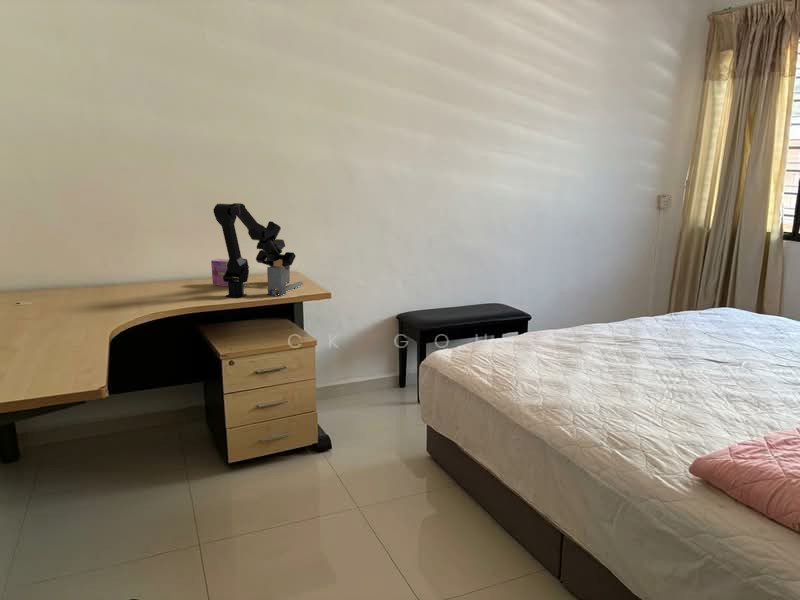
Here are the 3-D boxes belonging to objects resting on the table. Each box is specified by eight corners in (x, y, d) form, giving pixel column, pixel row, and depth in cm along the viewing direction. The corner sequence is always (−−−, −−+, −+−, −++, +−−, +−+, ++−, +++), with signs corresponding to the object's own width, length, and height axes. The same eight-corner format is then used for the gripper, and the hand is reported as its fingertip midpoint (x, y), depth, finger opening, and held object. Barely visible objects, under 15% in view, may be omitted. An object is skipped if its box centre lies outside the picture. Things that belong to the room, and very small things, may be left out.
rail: (276, 296, 255) (275, 291, 254) (271, 295, 256) (271, 291, 255) (303, 286, 277) (303, 281, 277) (299, 285, 278) (299, 281, 277)
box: (212, 285, 274) (210, 260, 272) (219, 283, 280) (218, 258, 277) (232, 287, 271) (231, 261, 269) (239, 285, 277) (237, 259, 274)
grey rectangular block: (285, 283, 281) (284, 258, 278) (273, 282, 283) (272, 257, 280) (289, 282, 285) (289, 257, 282) (277, 281, 287) (277, 256, 284)
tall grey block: (281, 296, 255) (280, 268, 252) (268, 295, 257) (267, 267, 254) (286, 294, 259) (285, 266, 256) (273, 293, 261) (272, 265, 258)
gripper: (293, 235, 272) (306, 256, 284) (258, 232, 279) (272, 253, 291) (283, 254, 266) (297, 275, 279) (248, 251, 273) (263, 272, 286)
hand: (282, 268), depth 284 cm, fingers closed on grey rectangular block, 6 cm apart
